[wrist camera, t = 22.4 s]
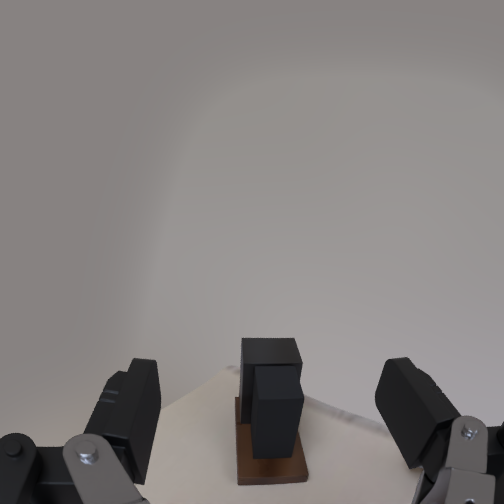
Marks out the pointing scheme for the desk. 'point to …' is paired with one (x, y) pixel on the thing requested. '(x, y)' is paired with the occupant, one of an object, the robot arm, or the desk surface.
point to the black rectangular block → (275, 411)
